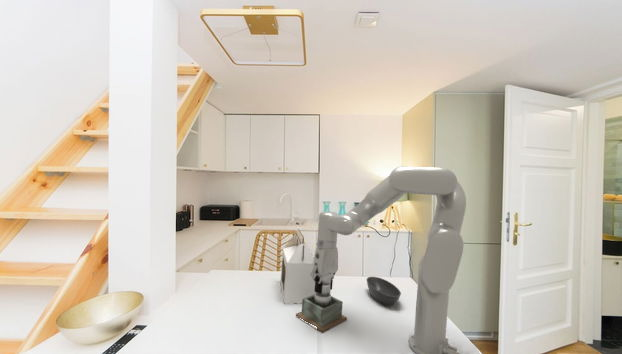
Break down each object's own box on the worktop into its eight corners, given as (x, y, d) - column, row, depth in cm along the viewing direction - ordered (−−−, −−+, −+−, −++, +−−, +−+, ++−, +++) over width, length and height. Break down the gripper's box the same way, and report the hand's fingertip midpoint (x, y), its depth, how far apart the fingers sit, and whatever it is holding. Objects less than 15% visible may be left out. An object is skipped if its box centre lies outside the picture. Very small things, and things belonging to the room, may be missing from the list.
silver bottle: (329, 312, 99) (333, 258, 99) (311, 309, 100) (315, 256, 100) (331, 304, 105) (335, 254, 105) (314, 301, 107) (318, 251, 107)
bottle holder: (346, 320, 103) (348, 302, 103) (322, 333, 93) (323, 313, 93) (320, 305, 113) (321, 289, 113) (295, 316, 103) (297, 298, 103)
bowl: (381, 312, 111) (382, 297, 111) (359, 289, 133) (360, 276, 133) (407, 310, 114) (408, 296, 114) (381, 288, 136) (382, 276, 136)
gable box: (280, 282, 134) (284, 227, 134) (306, 282, 136) (310, 228, 136) (284, 304, 112) (288, 238, 112) (314, 303, 114) (319, 239, 114)
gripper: (318, 249, 94) (314, 300, 94) (347, 243, 106) (344, 288, 106) (304, 244, 99) (300, 292, 99) (333, 239, 111) (330, 282, 112)
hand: (323, 290), depth 103 cm, fingers closed on silver bottle, 5 cm apart
